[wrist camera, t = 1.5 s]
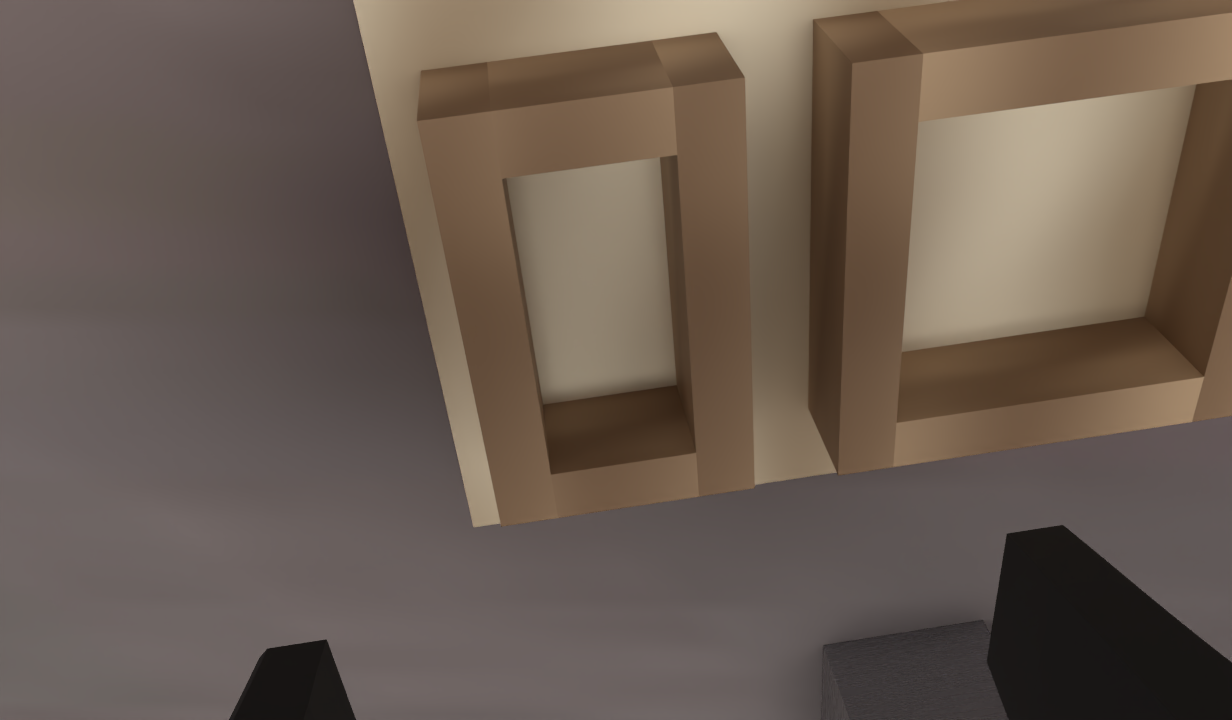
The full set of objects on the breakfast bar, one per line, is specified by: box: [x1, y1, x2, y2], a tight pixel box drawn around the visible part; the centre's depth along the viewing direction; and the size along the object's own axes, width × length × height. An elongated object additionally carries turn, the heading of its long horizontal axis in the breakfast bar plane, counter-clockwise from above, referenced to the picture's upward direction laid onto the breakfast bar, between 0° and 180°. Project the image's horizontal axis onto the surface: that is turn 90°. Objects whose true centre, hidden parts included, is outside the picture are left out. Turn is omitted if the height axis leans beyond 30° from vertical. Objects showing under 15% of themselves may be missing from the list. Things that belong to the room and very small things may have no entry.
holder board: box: [353, 0, 1232, 527], centre depth 18 cm, size 15×11×3 cm
